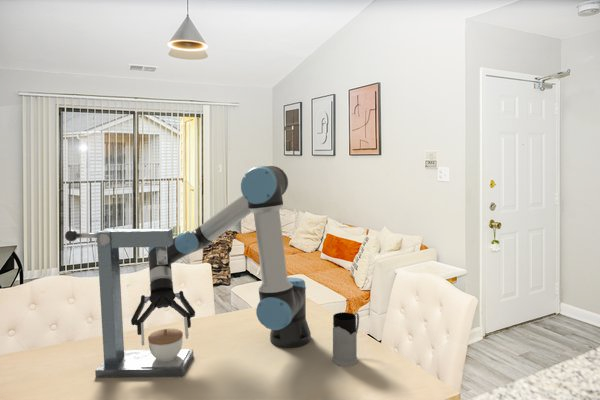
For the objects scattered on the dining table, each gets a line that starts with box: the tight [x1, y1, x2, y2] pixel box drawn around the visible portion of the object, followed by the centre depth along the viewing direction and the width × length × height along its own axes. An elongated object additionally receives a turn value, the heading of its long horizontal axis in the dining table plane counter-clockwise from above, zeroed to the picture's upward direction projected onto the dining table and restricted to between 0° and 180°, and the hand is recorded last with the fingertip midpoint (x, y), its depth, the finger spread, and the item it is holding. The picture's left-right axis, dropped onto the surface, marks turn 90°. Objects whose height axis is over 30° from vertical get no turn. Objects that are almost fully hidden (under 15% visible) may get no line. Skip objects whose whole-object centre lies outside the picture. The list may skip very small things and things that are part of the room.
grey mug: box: [331, 311, 360, 367], centre depth 146 cm, size 9×14×15 cm, turn 145°
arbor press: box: [64, 228, 194, 379], centre depth 139 cm, size 37×14×45 cm, turn 90°
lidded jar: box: [147, 328, 184, 362], centre depth 141 cm, size 11×11×9 cm
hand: (165, 340), depth 139 cm, fingers open, 13 cm apart
